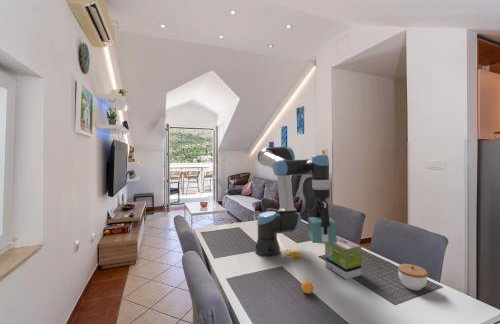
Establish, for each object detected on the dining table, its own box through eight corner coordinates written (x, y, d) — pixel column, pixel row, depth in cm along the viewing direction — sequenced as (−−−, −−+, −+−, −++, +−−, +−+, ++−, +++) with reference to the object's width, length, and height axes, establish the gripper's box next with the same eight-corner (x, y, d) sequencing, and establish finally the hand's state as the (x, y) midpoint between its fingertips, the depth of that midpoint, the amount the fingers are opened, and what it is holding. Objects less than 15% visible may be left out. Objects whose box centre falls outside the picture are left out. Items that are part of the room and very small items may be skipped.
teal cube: (313, 243, 104) (312, 222, 104) (308, 235, 115) (307, 217, 115) (336, 242, 104) (336, 222, 104) (329, 235, 114) (329, 217, 114)
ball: (299, 294, 101) (299, 282, 101) (303, 288, 105) (303, 277, 105) (311, 297, 98) (311, 285, 98) (314, 291, 103) (314, 279, 103)
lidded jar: (399, 277, 113) (399, 258, 112) (428, 285, 106) (428, 264, 106) (396, 287, 104) (396, 266, 104) (426, 296, 98) (426, 274, 97)
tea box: (324, 266, 125) (324, 238, 125) (339, 262, 129) (339, 235, 129) (346, 280, 111) (346, 248, 111) (362, 275, 115) (362, 245, 115)
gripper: (337, 191, 98) (338, 246, 98) (322, 185, 120) (323, 230, 121) (318, 192, 98) (319, 246, 98) (307, 186, 121) (308, 230, 121)
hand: (321, 237), depth 109 cm, fingers closed on teal cube, 10 cm apart
